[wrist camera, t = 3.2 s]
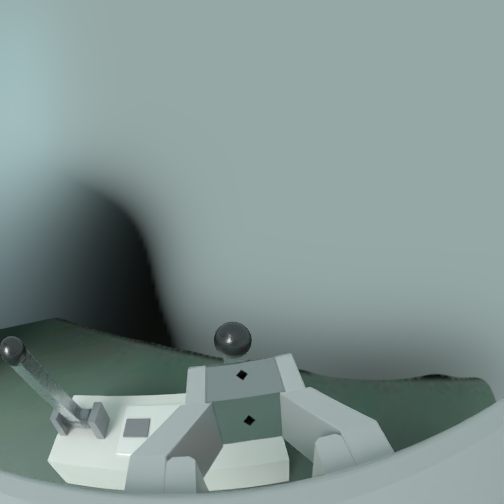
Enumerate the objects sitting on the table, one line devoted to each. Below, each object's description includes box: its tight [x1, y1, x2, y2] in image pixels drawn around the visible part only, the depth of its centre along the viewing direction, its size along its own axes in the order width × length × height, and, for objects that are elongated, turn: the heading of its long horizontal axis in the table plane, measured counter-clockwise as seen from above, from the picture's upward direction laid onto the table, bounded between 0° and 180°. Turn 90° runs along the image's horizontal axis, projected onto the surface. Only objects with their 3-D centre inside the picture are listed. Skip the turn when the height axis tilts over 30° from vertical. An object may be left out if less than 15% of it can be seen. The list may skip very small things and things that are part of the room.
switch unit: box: [48, 393, 289, 491], centre depth 25 cm, size 22×10×6 cm, turn 97°
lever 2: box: [214, 322, 252, 364], centre depth 22 cm, size 3×2×13 cm
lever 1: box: [0, 336, 92, 428], centre depth 20 cm, size 3×2×13 cm
